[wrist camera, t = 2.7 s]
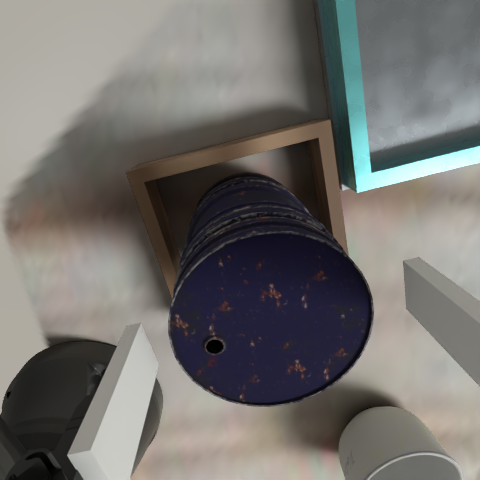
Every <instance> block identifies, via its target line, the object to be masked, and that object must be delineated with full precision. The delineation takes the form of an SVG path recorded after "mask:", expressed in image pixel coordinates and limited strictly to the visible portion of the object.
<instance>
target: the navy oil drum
mask: <svg viewBox="0 0 480 480" xmlns="http://www.w3.org/2000/svg"><path fill="white" fill-rule="evenodd" d="M373 316H374V308H373V299H372V295H371V292H370V288H369V285H368V283H367V281H366V279H365V277H364V276H363V274H362V272H361V271H360V269H359V268H358V267H357V266H356V264H355V263H354V262H353V261H352V260H351V258H350V257H349V256H348V255H347V254H346V253H345V251H344V249H343V248H342V246H341V245H340V244H339V243H338V241H337V240H336V239H335V238H334V237H333V236H332V235H331V234H330V233H329V231H328V230H327V229H326V228H325V227H324V226H323V224H321V223H320V222H319V221H318V220H317V219H316V218H314V217H313V216H312V215H310V213H309V211H308V210H307V208H306V207H305V206H304V205H303V203H302V202H301V201H300V200H298V198H297V197H296V196H295V195H294V194H293V193H291V192H290V191H289V190H288V189H287V188H285V187H284V186H283V185H282V184H280V183H279V182H277V181H276V180H274V179H272V178H269V177H267V176H264V175H260V174H254V173H243V174H236V175H232V176H229V177H227V178H224V179H222V180H220V181H219V182H217V183H216V184H214V185H213V186H212V187H211V188H209V189H208V190H207V191H206V193H205V194H204V195H203V196H202V198H201V200H200V201H199V203H198V205H197V208H196V210H195V212H194V214H193V217H192V220H191V223H190V227H189V230H188V235H187V240H186V247H185V249H184V251H183V254H182V257H181V259H180V263H179V268H178V271H177V275H176V279H175V285H174V290H173V299H172V303H171V307H170V313H169V318H168V333H169V339H170V344H171V348H172V350H173V353H174V355H175V358H176V360H177V361H178V363H179V364H180V366H181V368H182V369H183V371H184V372H185V373H186V374H187V375H188V376H189V377H190V379H191V380H192V381H194V382H195V383H196V384H197V385H199V386H200V387H201V388H202V389H204V390H205V391H207V392H209V393H211V394H212V395H214V396H216V397H219V398H221V399H224V400H226V401H229V402H233V403H237V404H240V405H247V406H255V407H271V406H280V405H286V404H290V403H295V402H299V401H302V400H304V399H307V398H310V397H312V396H314V395H316V394H318V393H320V392H322V391H324V390H326V389H327V388H329V387H330V386H332V385H333V384H335V383H336V382H338V381H339V380H340V379H341V378H342V377H343V376H344V375H345V374H347V373H348V372H349V370H350V369H351V368H352V367H353V366H354V365H355V363H356V362H357V361H358V359H359V358H360V356H361V354H362V353H363V351H364V350H365V347H366V345H367V343H368V340H369V338H370V334H371V330H372V326H373Z"/></svg>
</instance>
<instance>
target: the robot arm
mask: <svg viewBox="0 0 480 480" xmlns="http://www.w3.org/2000/svg"><path fill="white" fill-rule="evenodd" d="M403 266H404V281H405V296H406V309H407V310H408V311H409V312H410V313H411V314H412V315H413V316H414V317H415V318H416V319H417V320H418V322H419V323H420V324H421V325H422V326H423V327H424V328H425V329H426V330H427V331H428V332H429V333H430V334H431V335H432V336H433V337H434V338H435V340H436V341H437V342H438V343H439V344H440V345H441V346H442V347H443V348H444V349H445V350H446V351H447V352H448V353H449V354H450V355H451V356H452V358H453V359H454V360H455V361H456V362H457V363H458V364H459V365H460V366H461V367H462V368H463V369H464V370H465V371H466V372H467V373H468V374H469V376H470V377H471V378H472V379H473V380H474V381H475V382H476V383H477V384H478V385H479V386H480V301H478V300H477V299H476V298H474V297H473V296H472V295H470V294H469V293H467V292H466V291H465V290H463V289H462V288H461V287H459V286H458V285H456V284H455V283H454V282H452V281H451V280H450V279H448V278H447V277H446V276H444V275H443V274H441V273H440V272H439V271H437V270H436V269H435V268H433V267H432V266H430V265H429V264H428V263H426V262H425V261H424V260H422V259H421V258H419V257H418V258H414V259H409V260H405V261H403ZM158 367H159V364H158V362H157V360H156V357H155V355H154V352H153V350H152V348H151V345H150V343H149V341H148V338H147V336H146V333H145V331H144V329H143V326H142V324H141V323H138V324H134V325H130V326H126V328H125V330H124V332H123V335H122V337H121V339H120V341H119V343H118V345H117V347H114V346H111V345H107V344H103V343H97V342H87V341H77V342H67V343H62V344H58V345H54V346H52V347H49V348H47V349H44V350H43V351H41V352H39V353H37V354H36V355H35V356H33V357H32V358H31V359H30V360H29V361H28V362H27V363H26V364H25V365H24V366H23V368H22V369H21V370H20V372H19V373H18V374H17V375H16V377H15V378H14V379H13V381H12V382H11V384H10V386H9V387H8V389H7V391H6V394H5V397H4V400H3V404H2V413H1V415H0V480H130V478H131V476H132V475H133V473H134V471H135V469H136V468H137V466H138V464H139V462H140V461H141V459H142V457H143V455H144V453H145V451H146V450H147V448H148V446H149V445H150V444H151V442H152V441H153V439H154V437H155V435H156V433H157V430H158V427H159V423H160V418H161V413H162V408H163V395H162V390H161V387H160V384H159V382H158V380H157V379H156V375H157V371H158Z"/></svg>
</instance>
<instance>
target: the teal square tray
mask: <svg viewBox="0 0 480 480" xmlns="http://www.w3.org/2000/svg"><path fill="white" fill-rule="evenodd" d="M313 1H314V9H315V16H316V24H317V31H318V38H319V46H320V53H321V61H322V68H323V76H324V83H325V91H326V98H327V106H328V113H329V120H331V128H332V135H333V143H334V150H335V158H336V165H337V173H338V180H339V188H340V189H341V190H346V189H352V190H354V191H355V192H357V193H358V192H362V191H366V190H370V189H374V188H378V187H382V186H386V185H390V184H394V183H398V182H402V181H406V180H410V179H414V178H418V177H422V176H426V175H430V174H434V173H438V172H442V171H446V170H450V169H454V168H458V167H462V166H466V165H470V164H474V163H478V162H480V0H313Z"/></svg>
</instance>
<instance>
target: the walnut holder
mask: <svg viewBox="0 0 480 480" xmlns="http://www.w3.org/2000/svg"><path fill="white" fill-rule="evenodd" d="M303 141H308V147H309V153H310V159H311V166H312V172H313V178H314V184H315V191H316V197H317V203H318V209H319V216H320V222H321V224H323V226H324V227H325V228H326V229H327V230H328V231H329V233H330V234H331V235H332V236H333V237H334V238H335V239H336V240H337V241H338V243H339V244H340V245H341V246H342V248H343V249H344V251H345V253H346V254H347V255H348V248H347V241H346V233H345V226H344V218H343V210H342V203H341V195H340V188H339V180H338V173H337V165H336V158H335V150H334V143H333V135H332V128H331V120H329V119H315V120H311V121H307V122H304V123H300V124H296V125H292V126H288V127H284V128H280V129H276V130H272V131H269V132H265V133H261V134H257V135H253V136H249V137H245V138H241V139H238V140H234V141H230V142H226V143H222V144H218V145H214V146H210V147H206V148H203V149H199V150H195V151H191V152H187V153H183V154H179V155H175V156H172V157H168V158H164V159H160V160H156V161H152V162H148V163H144V164H140V165H137V166H135V167H134V168H132V169H130V170H129V171H127V172H126V174H127V177H128V180H129V183H130V185H131V188H132V191H133V194H134V196H135V199H136V202H137V204H138V207H139V210H140V213H141V215H142V218H143V221H144V223H145V226H146V229H147V232H148V234H149V237H150V240H151V243H152V245H153V248H154V251H155V253H156V256H157V259H158V262H159V264H160V267H161V270H162V273H163V275H164V278H165V281H166V283H167V286H168V289H169V292H170V294H171V297H172V299H173V290H174V285H175V279H176V275H177V271H178V268H179V263H180V259H181V256H180V253H179V250H178V247H177V244H176V241H175V238H174V235H173V232H172V229H171V226H170V223H169V220H168V217H167V214H166V211H165V209H164V206H163V203H162V200H161V197H160V194H159V191H158V188H157V185H156V182H155V179H159V178H162V177H166V176H170V175H174V174H178V173H182V172H186V171H190V170H194V169H198V168H202V167H205V166H209V165H213V164H217V163H221V162H225V161H229V160H233V159H237V158H241V157H245V156H248V155H252V154H256V153H260V152H264V151H268V150H272V149H276V148H280V147H284V146H288V145H291V144H295V143H299V142H303Z"/></svg>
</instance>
